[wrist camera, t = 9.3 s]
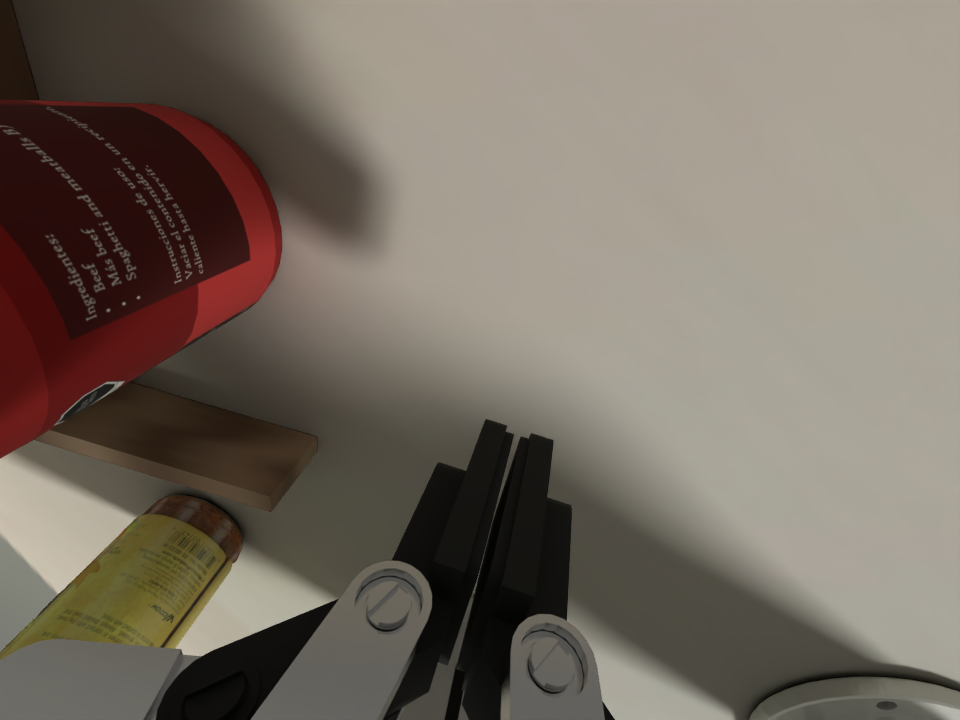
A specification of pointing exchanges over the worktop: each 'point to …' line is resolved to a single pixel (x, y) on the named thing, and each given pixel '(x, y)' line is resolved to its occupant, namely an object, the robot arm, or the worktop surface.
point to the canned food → (117, 249)
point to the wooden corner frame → (168, 400)
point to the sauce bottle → (144, 580)
